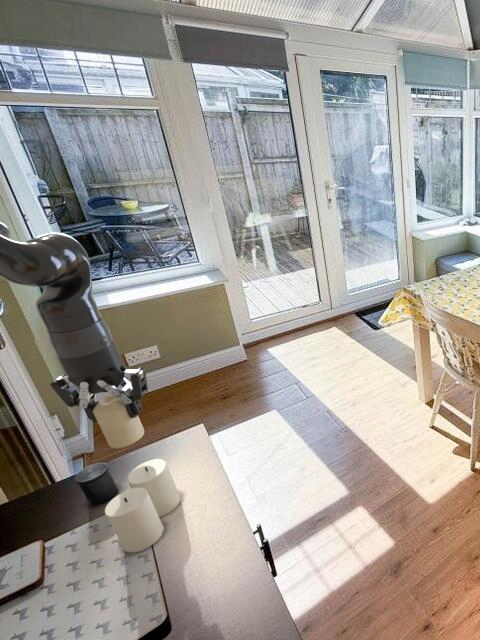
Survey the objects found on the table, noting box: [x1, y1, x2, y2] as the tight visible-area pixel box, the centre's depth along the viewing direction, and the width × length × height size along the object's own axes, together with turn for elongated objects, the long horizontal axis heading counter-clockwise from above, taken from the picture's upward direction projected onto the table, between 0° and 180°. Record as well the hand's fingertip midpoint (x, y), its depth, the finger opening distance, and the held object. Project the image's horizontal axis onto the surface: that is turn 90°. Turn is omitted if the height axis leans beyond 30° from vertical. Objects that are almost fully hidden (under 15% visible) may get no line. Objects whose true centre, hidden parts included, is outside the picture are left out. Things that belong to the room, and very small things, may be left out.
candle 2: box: [127, 458, 181, 518], centre depth 84 cm, size 6×6×11 cm
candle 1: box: [93, 394, 145, 449], centre depth 81 cm, size 6×6×10 cm
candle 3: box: [104, 488, 165, 554], centre depth 77 cm, size 6×6×11 cm
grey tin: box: [74, 462, 119, 506], centre depth 86 cm, size 5×5×7 cm
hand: (117, 416), depth 81 cm, fingers closed on candle 1, 5 cm apart
